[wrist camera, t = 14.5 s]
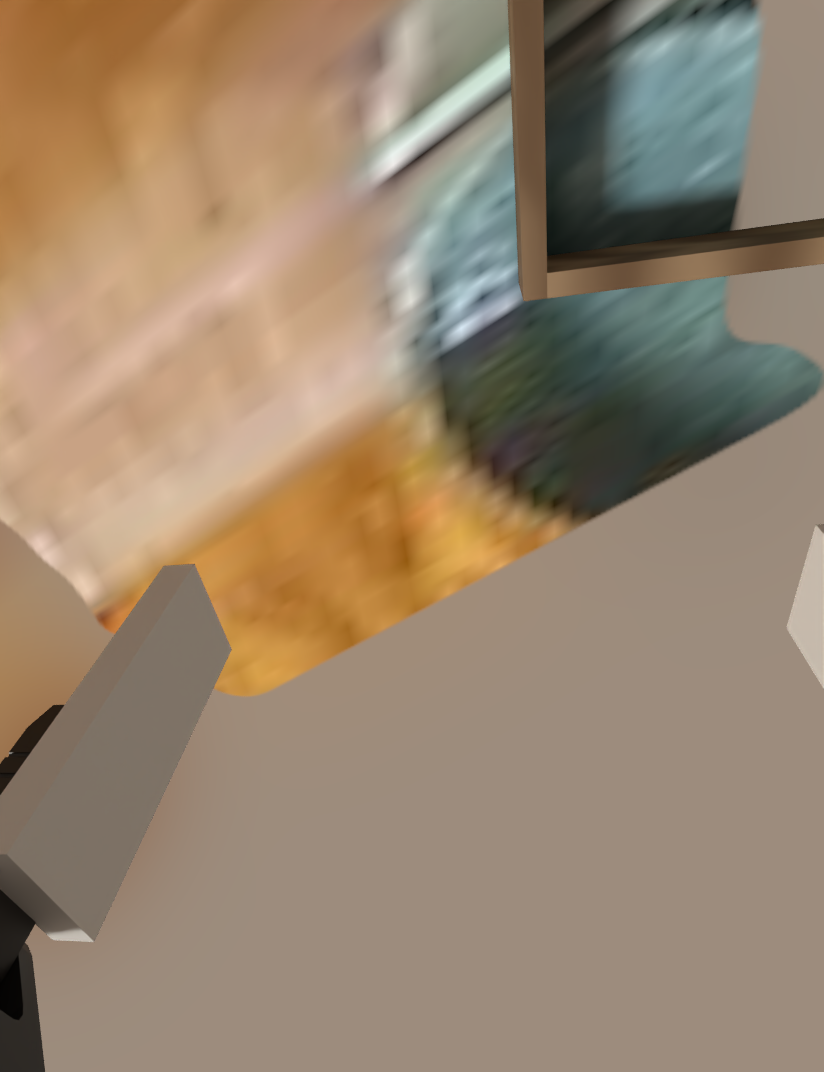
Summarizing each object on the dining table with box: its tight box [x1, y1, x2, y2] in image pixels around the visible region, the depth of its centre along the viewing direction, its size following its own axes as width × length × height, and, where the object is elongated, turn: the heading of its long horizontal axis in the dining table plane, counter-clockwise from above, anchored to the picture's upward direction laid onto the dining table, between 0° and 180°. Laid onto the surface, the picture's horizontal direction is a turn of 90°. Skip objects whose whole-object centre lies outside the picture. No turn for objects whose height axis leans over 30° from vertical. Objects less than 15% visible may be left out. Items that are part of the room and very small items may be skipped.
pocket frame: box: [508, 0, 824, 301], centre depth 27 cm, size 23×14×4 cm, turn 98°
